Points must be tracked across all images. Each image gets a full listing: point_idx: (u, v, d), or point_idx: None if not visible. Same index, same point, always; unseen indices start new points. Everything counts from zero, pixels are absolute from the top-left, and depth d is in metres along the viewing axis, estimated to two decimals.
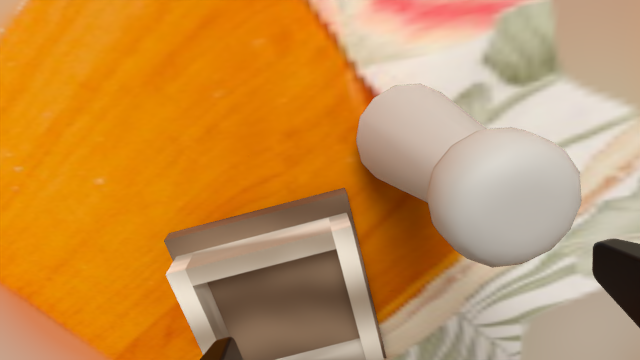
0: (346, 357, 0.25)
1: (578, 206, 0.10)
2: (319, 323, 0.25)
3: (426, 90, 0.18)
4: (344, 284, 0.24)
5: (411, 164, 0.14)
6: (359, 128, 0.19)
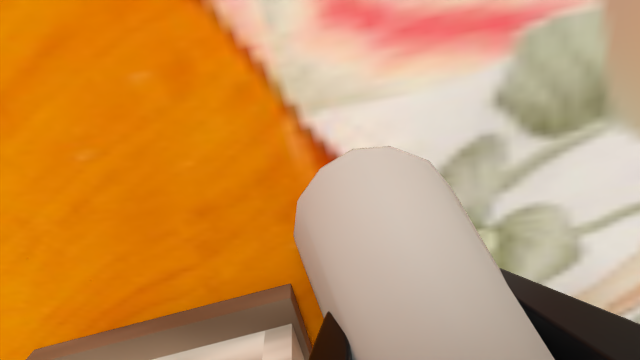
0: None
1: None
2: None
3: (402, 166, 0.10)
4: None
5: None
6: (296, 218, 0.12)
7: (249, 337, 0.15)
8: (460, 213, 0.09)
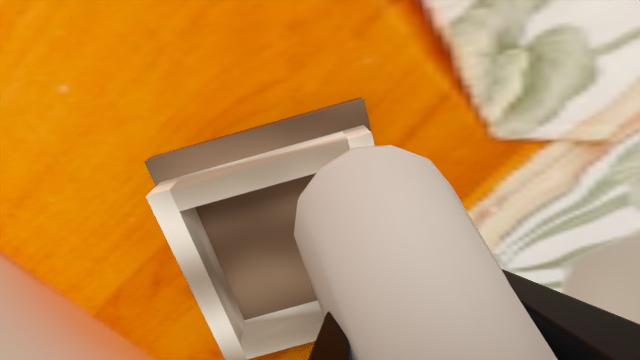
0: None
1: None
2: None
3: (402, 165, 0.10)
4: None
5: None
6: (296, 217, 0.12)
7: (330, 135, 0.19)
8: (461, 211, 0.09)
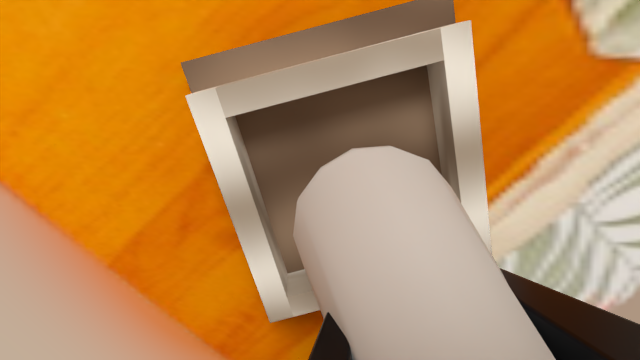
0: None
1: None
2: None
3: (401, 166, 0.10)
4: (435, 146, 0.17)
5: None
6: (296, 218, 0.12)
7: (408, 35, 0.15)
8: (460, 212, 0.09)
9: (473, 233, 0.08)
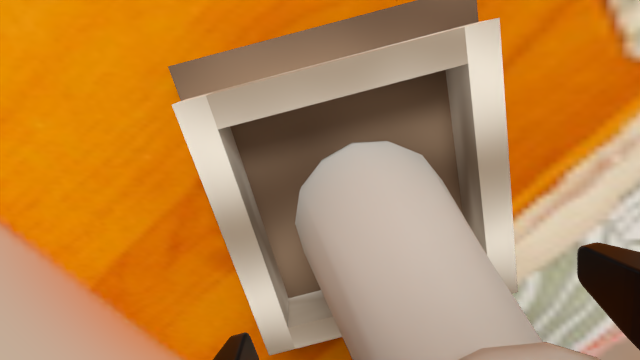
0: None
1: None
2: None
3: (397, 159, 0.11)
4: (453, 158, 0.15)
5: (355, 329, 0.07)
6: (298, 206, 0.13)
7: (425, 35, 0.13)
8: (449, 200, 0.10)
9: (460, 217, 0.09)
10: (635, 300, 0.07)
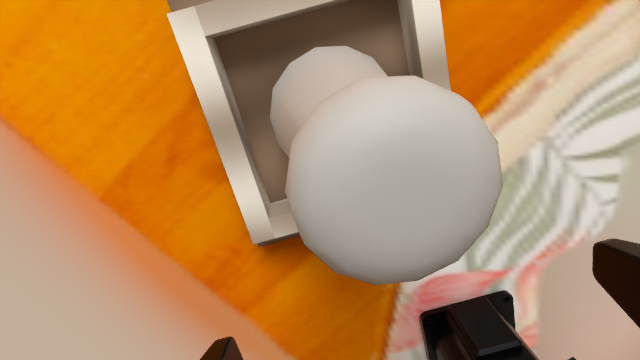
0: None
1: (494, 194, 0.06)
2: None
3: (347, 51, 0.14)
4: (406, 74, 0.18)
5: None
6: (272, 101, 0.15)
7: None
8: (382, 71, 0.12)
9: (386, 76, 0.12)
10: None
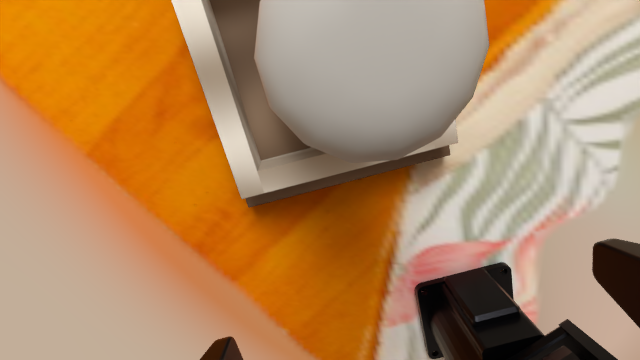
0: None
1: (478, 45, 0.06)
2: None
3: None
4: None
5: None
6: None
7: None
8: None
9: None
10: None
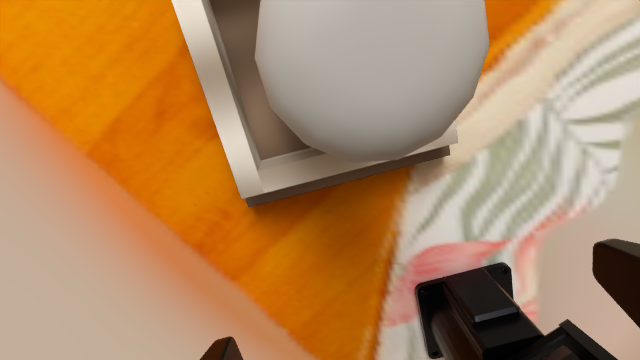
0: None
1: (478, 45, 0.06)
2: None
3: None
4: None
5: None
6: None
7: None
8: None
9: None
10: None
